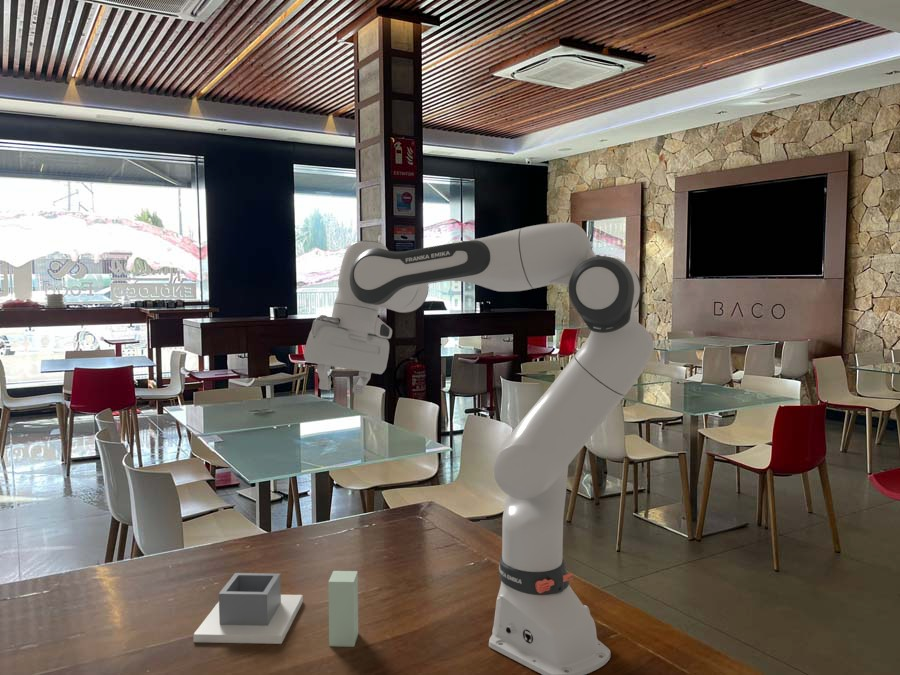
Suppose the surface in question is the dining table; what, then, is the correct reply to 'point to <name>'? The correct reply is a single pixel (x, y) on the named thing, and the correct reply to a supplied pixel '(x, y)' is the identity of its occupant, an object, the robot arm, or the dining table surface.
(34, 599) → the dining table surface
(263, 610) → the well stand
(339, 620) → the sage block
